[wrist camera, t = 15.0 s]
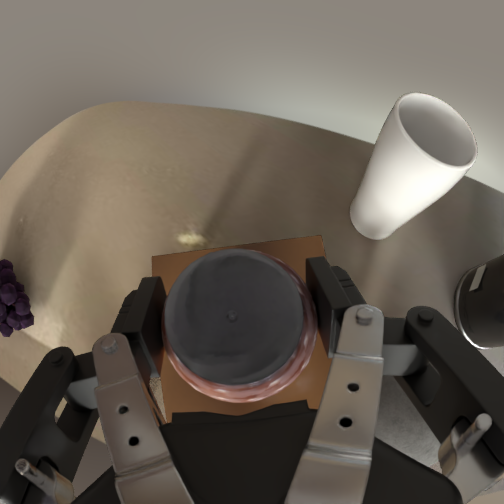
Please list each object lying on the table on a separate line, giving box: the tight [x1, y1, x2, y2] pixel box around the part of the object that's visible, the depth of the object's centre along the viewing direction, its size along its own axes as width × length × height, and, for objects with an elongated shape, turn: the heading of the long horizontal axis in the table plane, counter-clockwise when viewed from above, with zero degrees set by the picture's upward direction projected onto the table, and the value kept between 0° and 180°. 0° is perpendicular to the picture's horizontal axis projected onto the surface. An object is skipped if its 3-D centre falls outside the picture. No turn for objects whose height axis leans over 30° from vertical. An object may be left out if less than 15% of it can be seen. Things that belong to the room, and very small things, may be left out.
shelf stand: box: [152, 235, 332, 423], centre depth 23 cm, size 12×12×8 cm
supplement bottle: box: [161, 248, 318, 403], centre depth 14 cm, size 6×6×11 cm
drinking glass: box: [350, 92, 477, 240], centre depth 23 cm, size 7×7×15 cm
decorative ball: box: [375, 362, 441, 467], centre depth 20 cm, size 10×10×10 cm
